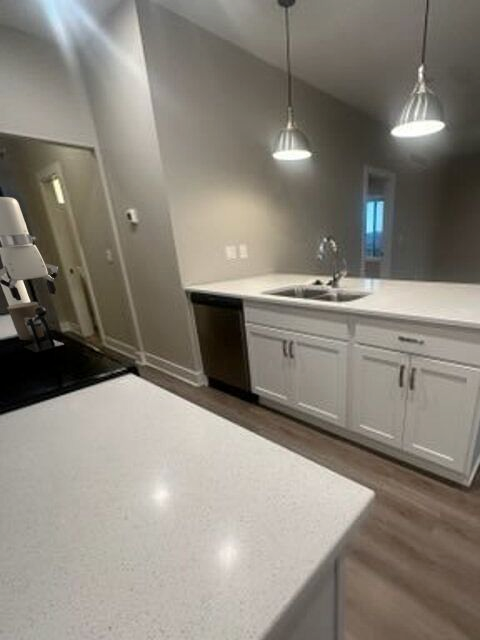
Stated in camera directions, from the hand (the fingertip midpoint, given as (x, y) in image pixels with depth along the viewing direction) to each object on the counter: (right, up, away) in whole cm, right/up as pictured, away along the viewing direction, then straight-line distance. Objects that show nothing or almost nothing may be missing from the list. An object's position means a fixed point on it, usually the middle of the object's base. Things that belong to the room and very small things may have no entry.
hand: (36, 296), depth 112 cm
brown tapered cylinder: (-19, -12, +25) cm, 34 cm away
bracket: (-6, -16, +13) cm, 22 cm away
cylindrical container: (-27, -9, +33) cm, 44 cm away
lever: (-3, -7, +5) cm, 9 cm away
